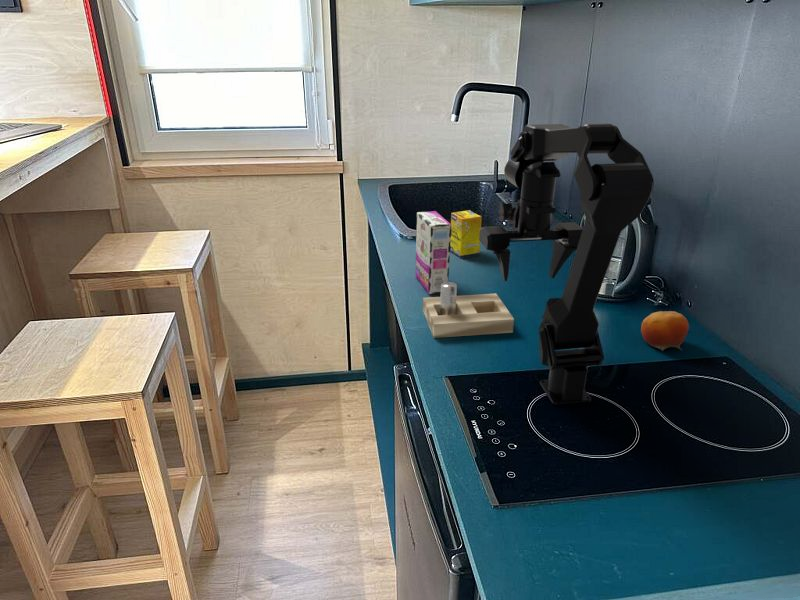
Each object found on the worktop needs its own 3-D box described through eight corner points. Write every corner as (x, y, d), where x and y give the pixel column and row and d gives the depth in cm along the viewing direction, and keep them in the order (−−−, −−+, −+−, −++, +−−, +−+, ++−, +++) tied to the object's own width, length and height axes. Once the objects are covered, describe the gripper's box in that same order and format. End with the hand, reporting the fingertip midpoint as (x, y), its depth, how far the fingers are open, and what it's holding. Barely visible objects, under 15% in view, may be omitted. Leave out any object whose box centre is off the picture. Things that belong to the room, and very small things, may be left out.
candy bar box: (449, 293, 128) (452, 224, 121) (428, 295, 127) (430, 226, 120) (434, 274, 138) (436, 209, 131) (414, 276, 137) (415, 211, 130)
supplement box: (448, 251, 152) (450, 212, 148) (467, 248, 155) (470, 209, 150) (460, 258, 148) (462, 218, 143) (479, 255, 150) (482, 215, 145)
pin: (456, 323, 114) (458, 287, 111) (441, 324, 114) (442, 288, 110) (453, 316, 117) (454, 281, 114) (438, 317, 117) (439, 282, 113)
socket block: (512, 332, 112) (514, 319, 110) (433, 337, 110) (434, 324, 108) (495, 305, 122) (496, 293, 121) (422, 310, 120) (423, 297, 119)
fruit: (665, 355, 101) (658, 311, 102) (637, 355, 109) (630, 314, 110) (703, 349, 103) (695, 306, 104) (672, 350, 111) (666, 310, 112)
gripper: (567, 185, 108) (557, 260, 114) (473, 188, 105) (469, 266, 112) (594, 200, 98) (582, 282, 104) (491, 204, 95) (485, 288, 102)
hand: (528, 279), depth 106 cm, fingers open, 9 cm apart
